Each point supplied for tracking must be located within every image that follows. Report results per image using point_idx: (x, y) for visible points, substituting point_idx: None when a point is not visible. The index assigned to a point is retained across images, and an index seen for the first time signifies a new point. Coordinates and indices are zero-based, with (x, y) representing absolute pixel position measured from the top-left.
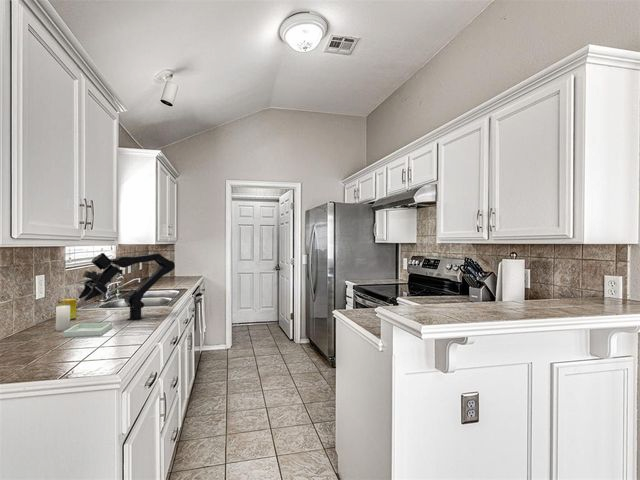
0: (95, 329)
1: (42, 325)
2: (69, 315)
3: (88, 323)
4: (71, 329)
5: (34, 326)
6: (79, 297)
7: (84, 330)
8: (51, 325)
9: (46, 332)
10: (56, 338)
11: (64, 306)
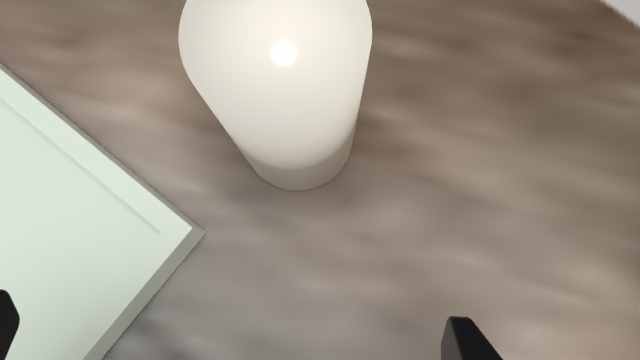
0: None
1: (604, 59)
2: (236, 143)
3: (121, 312)
4: (32, 123)
5: (605, 4)
6: (450, 335)
7: (48, 240)
8: (548, 112)
9: None
10: (5, 17)
11: (249, 41)
